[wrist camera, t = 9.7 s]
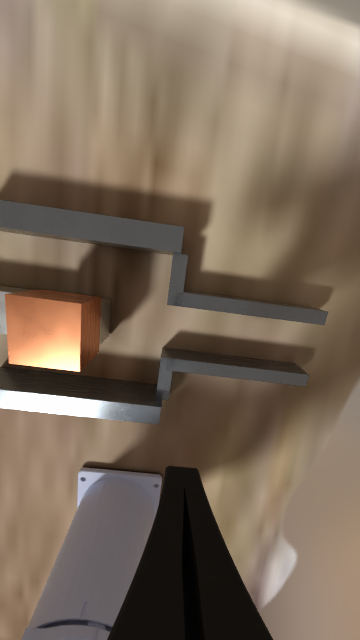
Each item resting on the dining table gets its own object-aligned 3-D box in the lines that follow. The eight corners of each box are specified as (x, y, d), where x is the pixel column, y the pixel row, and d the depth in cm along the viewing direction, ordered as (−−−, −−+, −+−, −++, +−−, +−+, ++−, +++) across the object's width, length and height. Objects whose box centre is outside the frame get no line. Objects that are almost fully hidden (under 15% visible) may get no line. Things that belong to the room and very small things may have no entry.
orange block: (108, 341, 17) (79, 371, 12) (-30, 324, 17) (-121, 348, 11) (111, 293, 16) (81, 303, 11) (-35, 274, 16) (-136, 275, 11)
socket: (280, 413, 19) (299, 439, 16) (1, 382, 18) (-33, 404, 15) (325, 255, 16) (358, 252, 13) (-11, 207, 15) (-58, 191, 12)
